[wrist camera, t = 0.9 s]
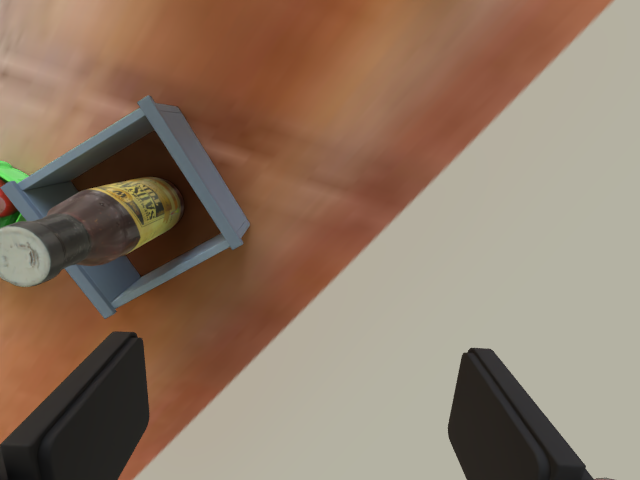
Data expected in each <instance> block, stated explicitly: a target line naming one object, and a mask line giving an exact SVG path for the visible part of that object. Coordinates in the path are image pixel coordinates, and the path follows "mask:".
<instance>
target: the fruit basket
mask: <svg viewBox="0 0 640 480" xmlns="http://www.w3.org/2000/svg"><path fill="white" fill-rule="evenodd" d="M27 177H28V175H26V174H25V173H23V172H22V171H20V170H18V169H14V168H13V167H12V166H11V165H10V164H9V163H7V162H3V161H0V187H2V186H3V185H5V184H6V183H8V182H10V181H15V182H16V183H19V182H20V181H22V180H24V179H25V178H27ZM20 221H26V219H25V218H24V217H23V216H22V214H21V213H20V212H19V211H18V209H17V208H16V207H15V206H14V204H13V203H12V202H11V201H10V199H9V198H8V197H7V196H6V194H5V193H4V192H3V191H2V189H1V188H0V228H2V227H4V226H7V225H10V224H13V223H16V222H20Z"/></svg>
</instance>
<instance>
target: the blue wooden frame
mask: <svg viewBox="0 0 640 480" xmlns="http://www.w3.org/2000/svg"><path fill="white" fill-rule="evenodd" d="M137 103H138V105H139V106H140V108H138V109H137V110H135V111H133V112H132V113H130V114H129V115H127V116H125V117H124V118H122V119H121V120H119V121H117V122H116V123H114V124H112V125H111V126H109V127H108V128H106V129H104V130H103V131H101V132H99V133H98V134H96V135H95V136H93V137H91V138H90V139H88V140H87V141H85V142H83V143H82V144H80V145H78V146H77V147H75V148H74V149H72V150H70V151H69V152H67V153H66V154H64V155H62V156H61V157H59V158H57V159H56V160H54V161H53V162H51V163H49V164H48V165H46V166H45V167H43V168H41V169H40V170H38V171H36V172H35V173H33V174H32V175H30V176H28V177H27V178H25V179H24V180H22V181H20V182H19V183H16V182H15V181H10V182H8V183H6V184H5V185H3V186H2V187H0V188H1V189H2V191H3V192H4V193H5V194H6V196H7V197H8V198H9V199H10V201H11V202H12V203H13V204H14V206H15V207H16V208H17V209H18V211H19V212H20V213H21V214H22V216H23V217H24V218H25V219H26V221H35V220H38V219H42V218H43V217H45V216H47V213H48V211H49V210H50V209H51V208H53V207H54V206H56V205H58V204H60V203H61V202H63V201H65V200H66V199H68V198H70V197H72V196H73V195H75V194H77V193H78V190H77V189H76V188H75V186H74V185H73V184H72V182H71V180H73V179H74V178H76V177H78V176H79V175H81V174H83V173H84V172H86V171H88V170H89V169H91V168H93V167H94V166H96V165H98V164H99V163H101V162H103V161H104V160H106V159H107V158H109V157H111V156H112V155H114V154H116V153H117V152H119V151H121V150H122V149H124V148H126V147H127V146H129V145H131V144H132V143H134V142H136V141H137V140H139V139H141V138H142V137H144V136H145V135H147V134H149V133H150V132H152V131H154V130H155V131H156V133H157V134H158V136H159V137H160V139H161V140H162V142H163V143H164V145H165V147H166V148H167V150H168V151H169V153H170V154H171V156H172V157H173V159H174V160H175V162H176V164H177V165H178V167H179V168H180V170H181V171H182V173H183V174H184V176H185V177H186V179H187V181H188V182H189V184H190V185H191V187H192V188H193V190H194V191H195V193H196V195H197V196H198V198H199V199H200V201H201V202H202V204H203V205H204V207H205V208H206V210H207V212H208V213H209V215H210V216H211V218H212V219H213V221H214V222H215V224H216V226H217V227H218V229H219V230H220V232H221V233H220V234H218V235H217V236H215V237H213V238H211V239H209V240H208V241H206V242H204V243H202V244H200V245H198V246H197V247H195V248H193V249H191V250H189V251H188V252H186V253H184V254H182V255H180V256H178V257H177V258H175V259H173V260H171V261H169V262H167V263H166V264H164V265H162V266H160V267H158V268H157V269H155V270H153V271H151V272H149V273H147V274H146V275H144V276H142V277H141V276H140V274H139V273H138V272H137V270H136V269H135V268H134V266H133V265H132V264H131V262H130V261H129V259H128V258H127V257H126V255H124V256H121V257H118V258H116V259H115V260H113V261H111V262H109V263H106V264H103V265H97V266H83V265H78V264H75V265H71V266H68V267H66V268H65V270H66V271H67V272H68V273H69V275H70V276H71V277H72V278H73V280H74V281H75V282H76V284H77V285H78V286H79V287H80V289H81V290H82V291H83V292H84V294H85V295H86V296H87V297H88V299H89V300H90V301H91V302H92V304H93V305H94V306H95V307H96V309H97V310H98V311H99V312H100V314H101V315H102V316H103V317H104V319H106V318H108V317H110V316H111V315H113V314H115V313H116V312H117V311H116V310H115V309H116V308H118V307H120V306H122V305H124V304H125V303H127V302H129V301H131V300H133V299H135V298H136V297H138V296H140V295H142V294H144V293H146V292H148V291H149V290H151V289H153V288H155V287H157V286H159V285H160V284H162V283H164V282H166V281H168V280H170V279H172V278H173V277H175V276H177V275H179V274H181V273H183V272H184V271H186V270H188V269H190V268H192V267H194V266H196V265H197V264H199V263H201V262H203V261H205V260H207V259H208V258H210V257H212V256H214V255H216V254H218V253H220V252H221V251H223V250H225V249H227V248H229V247H231V249H232V250H234V249H236V248H237V247H239V246H241V245H243V243H244V242H243V241H242V239H241V238H242V236H243V235H244V233H245V232H246V230H247V229H248V228H249V226H250V223H249V221H248V220H247V218H246V216H245V215H244V213H243V211H242V210H241V208H240V207H239V205H238V203H237V202H236V200H235V198H234V197H233V195H232V194H231V192H230V190H229V189H228V187H227V185H226V184H225V182H224V181H223V179H222V177H221V176H220V174H219V173H218V171H217V169H216V168H215V166H214V164H213V163H212V161H211V160H210V158H209V156H208V155H207V153H206V151H205V150H204V148H203V147H202V145H201V143H200V142H199V140H198V139H197V137H196V135H195V134H194V132H193V130H192V129H191V127H190V126H189V124H188V122H187V121H186V119H185V117H184V116H183V114H181V111H180V109H179V108H178V107H177V106H171V105H165V104H159V103H155V102H154V100H153V99H152V97H151V96H146V97H145V98H143V99H142V100H140V101H138V102H137Z"/></svg>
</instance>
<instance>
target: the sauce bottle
mask: <svg viewBox="0 0 640 480" xmlns="http://www.w3.org/2000/svg"><path fill="white" fill-rule="evenodd" d="M183 212H184V200H183V197H182V195H181V193H180V192H179V190H178V189H177V188H176V187H175V185H173V184H172V183H171V182H170V181H167V180H164V179H160V178H155V177H142V178H137V179H132V180H128V181H123V182H118V183H113V184H108V185H104V186H100V187H94V188H91V189H86V190H82V191H80V192H78V193H77V194H75V195H73V196H72V197H70V198H68V199H66V200H65V201H63V202H61V203H60V204H58V205H56V206H54V207H53V208H51V209H50V210H49V211H48V213H47V216H45V217H43V218H42V219H38V220H35V221H20V222H16V223H13V224H10V225H7V226H4V227H2V228H0V277H1V278H2V279H3V280H5V281H7V282H9V283H11V284H13V285H16V286H20V287H31V286H35V285H38V284H41V283H43V282H46V281H48V280H50V279H52V278H54V277H56V276H57V275H58V274H59V272H60V271H61V270H62V269H64V268H66V267H68V266H71V265H75V264H78V265H83V266H97V265H103V264H106V263H109V262H111V261H113V260H115V259H116V258H118V257H121V256H124V255H126V254H128V253H130V252H131V251H133V250H135V249H137V248H138V247H140V246H142V245H143V244H145V243H147V242H149V241H150V240H152V239H154V238H156V237H158V236H159V235H161V234H163V233H165V232H166V231H168V230H170V229H171V228H172V227H173V226H174V225H175V224H176V223H177V222H178V221H179V220H180V219H181V218H182V215H183Z"/></svg>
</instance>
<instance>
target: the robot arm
mask: <svg viewBox="0 0 640 480" xmlns="http://www.w3.org/2000/svg"><path fill="white" fill-rule="evenodd" d="M148 421H149V404H148V392H147V381H146V369H145V357H144V345H143V340H142V338H138V337H137V334H136V333H134V332H116V331H115V332H112V333H111V334H110V335H109V336H108V337H107V338H106V339H105V340H104V341H103V342H102V343H101V344H100V345H99V346H98V347H97V348H96V349H95V350H94V351H93V352H92V353H91V354H90V355H89V356H88V357H87V358H86V359H85V360H84V361H83V362H82V363H81V364H80V365H79V366H78V367H77V368H76V369H75V370H74V371H73V372H72V373H71V374H70V375H69V376H68V377H67V378H66V379H65V380H64V381H63V382H62V383H61V384H60V385H59V386H58V387H57V388H56V389H55V390H54V391H53V392H52V393H51V394H50V395H49V396H48V397H47V398H46V399H45V400H44V401H43V402H42V403H41V404H40V405H39V406H38V407H37V408H36V409H35V410H34V411H33V412H32V413H31V414H30V415H29V416H28V417H27V418H26V419H25V420H24V421H23V422H22V423H21V424H20V425H19V426H18V427H17V428H16V429H15V430H14V431H13V432H12V433H11V434H10V435H9V436H8V437H7V438H6V439H5V440H4V441H3V442H2V443H1V444H0V480H118V478H119V476H120V474H121V472H122V471H123V469H124V467H125V465H126V464H127V462H128V460H129V458H130V456H131V455H132V453H133V451H134V449H135V447H136V446H137V444H138V442H139V440H140V439H141V437H142V435H143V433H144V431H145V430H146V428H147V425H148ZM448 435H449V439H450V442H451V444H452V446H453V449H454V451H455V453H456V456H457V458H458V460H459V462H460V465H461V467H462V469H463V472H464V474H465V476H466V479H467V480H614V479H609V478H596V479H593V478H592V477H591V475H590V474H589V473H588V471H587V470H586V469H585V467H586V466H585V464H584V463H583V462H582V461H581V459H580V458H579V457H578V456H577V454H575V452H574V451H573V450H572V448H571V447H570V446H569V445H568V443H567V442H566V441H565V440H564V438H563V437H562V436H561V435H560V433H559V432H558V431H557V430H556V429H555V427H554V426H553V425H552V423H551V422H550V421H549V420H548V418H547V417H546V416H545V415H544V413H543V412H542V411H541V410H540V409H539V407H538V406H537V405H536V404H535V402H534V401H533V400H532V399H531V397H530V396H529V395H528V394H527V393H526V391H525V390H524V389H523V387H522V386H521V385H520V384H519V383H518V381H517V380H516V379H515V378H514V376H513V375H512V374H511V372H510V371H509V370H508V369H507V368H506V366H505V365H504V364H503V363H502V361H501V360H500V359H499V358H498V356H497V355H496V354H495V353H494V351H493V350H491V349H482V348H470V349H469V350H468V353H463V355H462V359H461V364H460V369H459V373H458V378H457V383H456V389H455V394H454V399H453V404H452V409H451V414H450V419H449V424H448Z"/></svg>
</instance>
